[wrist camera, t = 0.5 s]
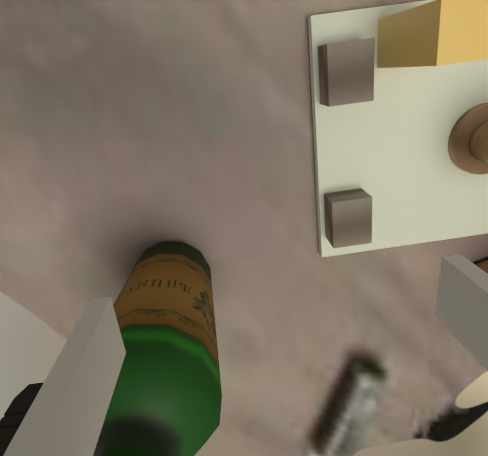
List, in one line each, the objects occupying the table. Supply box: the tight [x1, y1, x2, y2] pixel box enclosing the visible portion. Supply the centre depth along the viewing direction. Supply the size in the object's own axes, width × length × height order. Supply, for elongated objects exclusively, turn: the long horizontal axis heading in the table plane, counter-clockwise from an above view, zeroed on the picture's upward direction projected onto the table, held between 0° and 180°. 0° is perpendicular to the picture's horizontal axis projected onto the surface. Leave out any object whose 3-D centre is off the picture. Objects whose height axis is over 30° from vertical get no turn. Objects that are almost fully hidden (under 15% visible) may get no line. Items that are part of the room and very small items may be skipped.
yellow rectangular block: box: [377, 0, 488, 68], centre depth 29 cm, size 4×4×10 cm
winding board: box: [308, 0, 488, 257], centre depth 38 cm, size 24×22×1 cm
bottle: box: [93, 242, 222, 456], centre depth 30 cm, size 11×11×28 cm
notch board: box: [318, 37, 375, 248], centre depth 36 cm, size 19×4×3 cm, turn 7°
